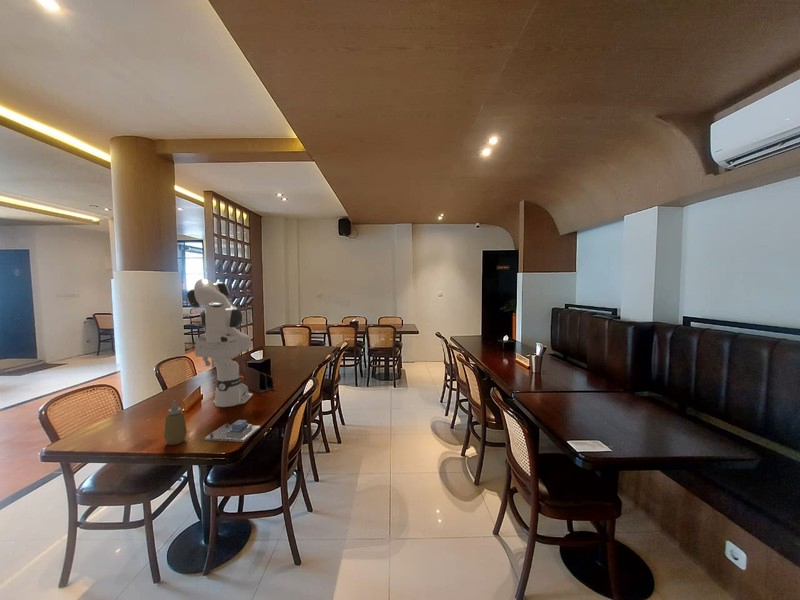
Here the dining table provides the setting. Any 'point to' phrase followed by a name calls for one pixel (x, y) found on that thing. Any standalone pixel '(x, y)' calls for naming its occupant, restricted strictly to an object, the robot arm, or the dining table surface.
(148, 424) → the dining table surface
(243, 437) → the chassis
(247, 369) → the letter holder
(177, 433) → the squeeze bottle
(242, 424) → the servo
